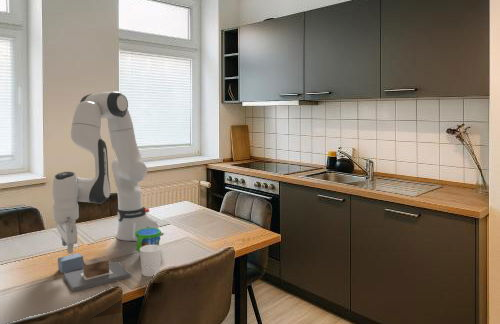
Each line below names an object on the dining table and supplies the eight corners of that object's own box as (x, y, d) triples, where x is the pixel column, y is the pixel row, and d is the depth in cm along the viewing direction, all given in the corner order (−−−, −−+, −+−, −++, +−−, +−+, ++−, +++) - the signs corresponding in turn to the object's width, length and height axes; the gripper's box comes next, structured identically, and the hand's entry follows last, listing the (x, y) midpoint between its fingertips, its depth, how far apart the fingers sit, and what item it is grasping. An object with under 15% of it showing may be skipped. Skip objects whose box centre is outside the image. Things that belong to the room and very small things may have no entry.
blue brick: (79, 264, 161) (78, 252, 160) (83, 268, 157) (82, 256, 157) (58, 270, 155) (57, 258, 154) (62, 273, 152) (61, 261, 151)
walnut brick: (105, 268, 153) (104, 256, 152) (109, 272, 149) (108, 260, 148) (83, 273, 148) (82, 261, 147) (87, 278, 144) (86, 265, 144)
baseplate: (117, 264, 160) (117, 261, 160) (129, 277, 149) (129, 273, 149) (64, 277, 148) (63, 273, 148) (73, 291, 137) (72, 287, 137)
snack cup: (150, 246, 181) (149, 224, 180) (169, 249, 177) (169, 227, 176) (127, 258, 167) (126, 235, 166) (147, 262, 163) (146, 238, 161)
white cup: (163, 268, 157) (162, 244, 155) (159, 277, 149) (158, 251, 148) (143, 268, 157) (142, 244, 155) (138, 277, 149) (137, 252, 147)
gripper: (81, 219, 146) (82, 255, 148) (69, 207, 163) (70, 240, 164) (62, 222, 143) (64, 259, 144) (52, 209, 159) (53, 242, 161)
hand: (67, 248), depth 155 cm, fingers open, 8 cm apart
